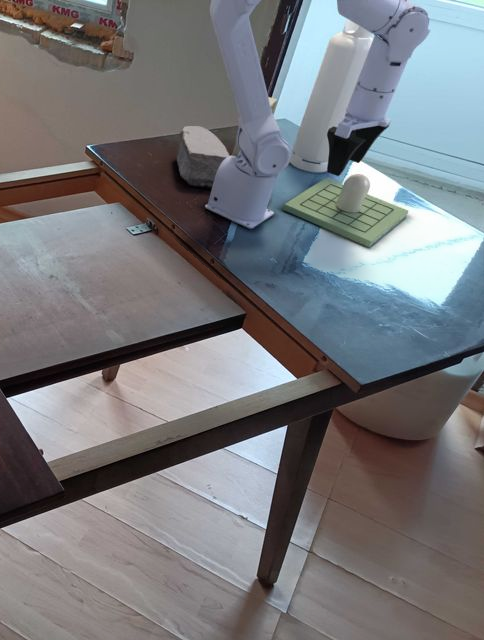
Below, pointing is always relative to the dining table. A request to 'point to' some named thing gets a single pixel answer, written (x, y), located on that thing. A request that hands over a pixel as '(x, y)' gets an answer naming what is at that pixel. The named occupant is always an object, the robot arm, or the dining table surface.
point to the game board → (345, 213)
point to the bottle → (330, 96)
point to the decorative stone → (199, 156)
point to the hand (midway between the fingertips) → (343, 166)
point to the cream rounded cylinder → (353, 193)
